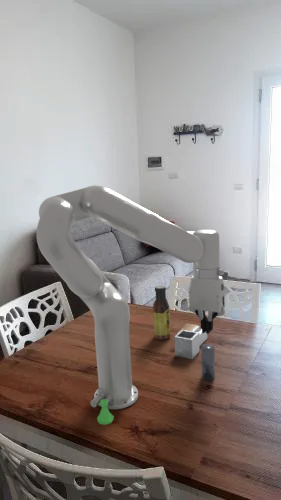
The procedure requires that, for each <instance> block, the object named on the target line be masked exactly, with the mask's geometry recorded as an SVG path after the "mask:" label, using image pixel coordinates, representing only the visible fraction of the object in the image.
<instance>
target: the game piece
mask: <svg viewBox="0 0 281 500" xmlns="http://www.w3.org/2000/svg"><path fill="white" fill-rule="evenodd" d="M100 406H102V407H101V410H100V412H99V414H98V416H97V418H96V420H97V422H98V423H99V425H103V426H104V425H105V426H106V425H110V424H111V423H112V422H113V420H114V417H115V416H114V415H113V414H112V412H110V411H109V410H110V409H108V408H107V407H106V406H108V400H106V399H103V400H100ZM100 406H99V407H100Z"/></svg>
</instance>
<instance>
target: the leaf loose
mask: <svg viewBox="0 0 281 500" xmlns="http://www.w3.org/2000/svg"><path fill="white" fill-rule="evenodd" d="M198 333H199V348H201V346H202V345H203V343H204V342H205V341H206V340H207V339H208V334H207V333H206V332H205V333H202V329H201V328H200V331H199V332H198Z"/></svg>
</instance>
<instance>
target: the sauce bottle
mask: <svg viewBox="0 0 281 500" xmlns="http://www.w3.org/2000/svg"><path fill="white" fill-rule="evenodd" d="M154 292H155V300H154V301H153V304H152V308H153V313H152V314H153V329H154V330H153V331H154V332H153V333H154V338H156V339H157V340H168V339H169V338H170V337H171V310H170V309H171V308H170V305H169V302H168V299H167V296H166V295H167V293H166V286H165V285H156V286H155V287H154Z"/></svg>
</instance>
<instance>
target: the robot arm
mask: <svg viewBox="0 0 281 500" xmlns="http://www.w3.org/2000/svg"><path fill="white" fill-rule="evenodd" d="M38 209H39V210H38V217H39V220H38V223H37V225H36V226H37V227H36V242H37V246H38V249H39V251H40V252H41V255H43V257H44V258H45V260H46V261H47V262H48V263H49V265H50V266H51V267H52V268H53V270H54V271H55V272H56V273H57V274H58V276H59V277H60V278H61V279H62V280H63V282H65V283H66V285H67V287H68V288H69V290H71V292H73V294H75V295H76V296H78V297H79V298H80V299H81V300H82V301H83V303H84V304H85V305H86V307H88V309H89V310H90V312H91V314H92V315H93V320H94V321H93V322H94V343H95V344H94V345H95V355H96V356H95V357H96V367H97V368H96V369H97V379H98V380H97V382H98V388H97V389H96V391H95V392H94V393H93V394H94V395H93V399H92V400H91V401H90V406H91V407H92V408H96V407H97V406H99V407H100V408H102V406H100V400H103V399H106V400H108V406H106V407H107V408H108V410H121V409H125V408H127V407H128V408H129V406H132V405H133V404H135V403H136V402H137V400H138V398H139V391H138V388H137V387H136V386H135V385H133V376H132V375H133V373H132V361H131V360H132V359H131V345H130V321H131V312H130V311H131V310H130V306H129V303H128V302H127V300H126V298H125V297H124V296H123V294H122V293H121V292H120V291H119V290H118V289H117V288H116V287H115V286H114V285H113V284H112V282H111V281H110V280H109V279H108V278H107V276H106V275H105V274H104V273H103V272H102V270H100V267H98V265H97V264H96V263H95V262H94V261H93V260H92V259H91V258H89V257H88V256H87V254H85V253H84V251H83V250H82V249H81V248H80V246H79V245H78V244H77V242H76V241H75V240H74V238H73V235H72V229H73V226H74V224H75V223H77V222H81V221H84V220H87V219H90V218H94V219H95V220H97V221H99V222H102V223H103V224H106V225H107V226H109V227H112V228H113V229H115V230H117V231H119V232H120V233H124V234H125V235H127V236H129V237H131V238H133V239H135V240H137V241H139V242H142V243H144V244H147V245H150V246H152V247H154V248H155V249H156V248H157V249H158V250H160V251H162V252H164V253H167V255H170V256H171V257H174V258H176V259H178V260H180V261H182V262H184V263H186V264H192V268H193V269H192V275H191V278H190V282H189V289H188V306H189V307H188V310H189V312H192V313H194V314H195V315H196V316H197V317H198V320H199V321H200V330H201V329H202V333H205V332H206V333H207V335H209V334H210V333H211V332H212V331H213V330H214V319H215V318H217V317H222V316H225V314H226V310H225V307H226V291H225V285H224V283H225V282H224V279H223V276H224V275H225V270H224V269H221V266H220V233H219V232H218V231H217V230H214V229H198V230H196V231H195V230H193V231H191V230H190V231H189V230H186V229H183V228H182V227H180V226H178V225H176V224H174V223H172V222H171V221H168V220H166V219H165V218H163V217H161V216H159V214H157V213H154V212H152V211H151V210H149V209H147V208H146V207H143V206H141V205H140V204H138V203H137V202H134V201H133V200H131V199H129V198H127V197H126V196H124V195H122V194H120V193H118V192H117V191H114V190H112V189H111V188H108V187H106V186H102V185H90V186H89V185H88V186H87V187H83V188H79V189H75V190H72V191H69V192H65V193H60V194H57V195H53V196H50V197H47V198H45V199H44V200H43V201H42V202H41V204H40V206H39V208H38ZM206 312H208V313H207V314H208V315H206Z"/></svg>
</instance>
